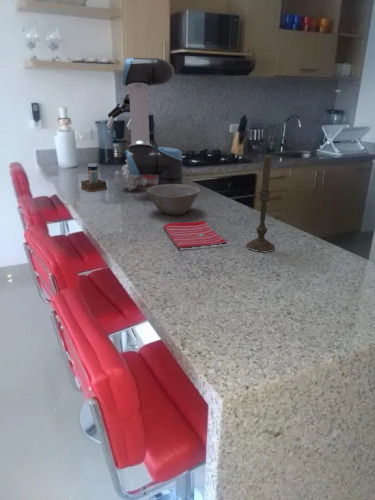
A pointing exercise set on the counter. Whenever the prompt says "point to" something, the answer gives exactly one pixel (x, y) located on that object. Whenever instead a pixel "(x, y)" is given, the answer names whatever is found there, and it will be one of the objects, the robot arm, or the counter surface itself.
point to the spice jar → (93, 173)
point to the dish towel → (192, 234)
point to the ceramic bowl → (173, 197)
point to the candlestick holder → (263, 210)
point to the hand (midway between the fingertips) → (118, 127)
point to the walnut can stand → (93, 185)
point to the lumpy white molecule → (134, 178)
